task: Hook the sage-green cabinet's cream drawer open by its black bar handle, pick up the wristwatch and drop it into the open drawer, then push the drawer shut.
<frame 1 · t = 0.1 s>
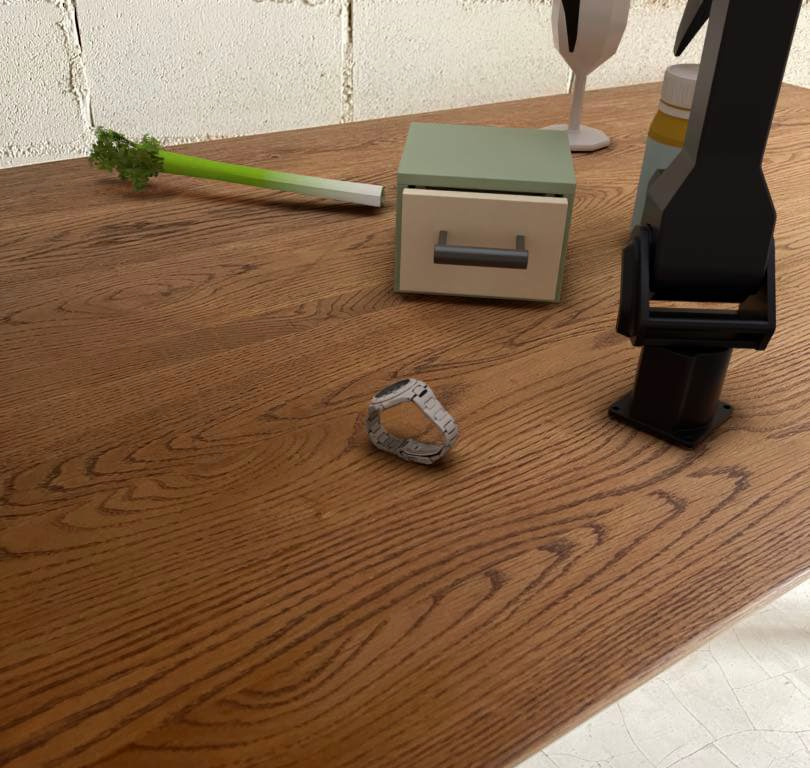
hand: (623, 52, 81), 15 cm above the table, tool pointing down, fingers open, 9 cm apart
wineglass: (571, 143, 112), on the table
cabinet: (478, 264, 83), on the table
leek: (237, 198, 94), on the table
wristwatch: (408, 456, 59), on the table
bottle: (664, 248, 87), on the table
drawer: (481, 229, 76), point 5 cm above the table, slide at 0.5 cm
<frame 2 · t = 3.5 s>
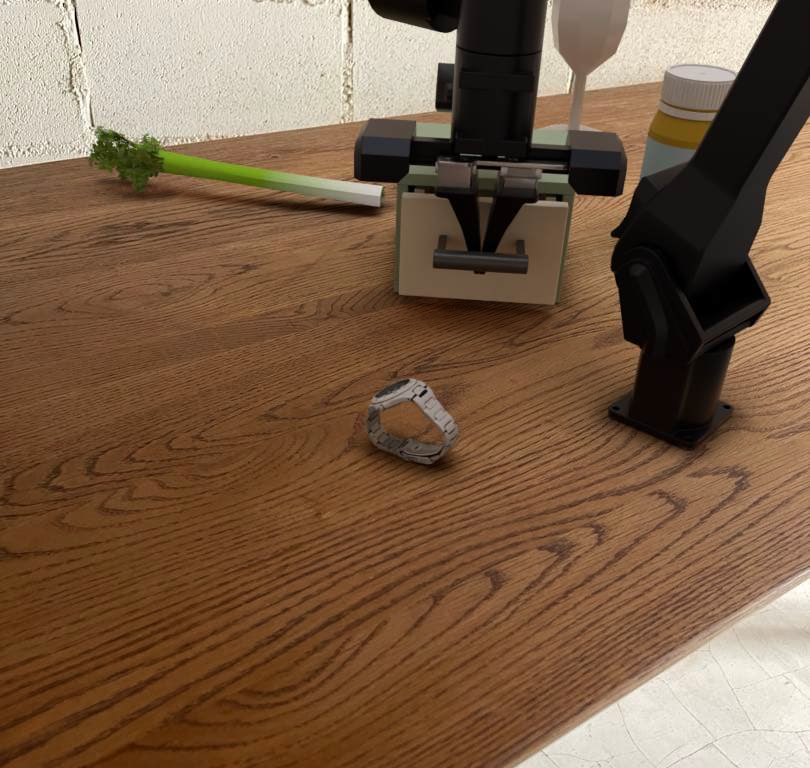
hand: (479, 272, 71), 4 cm above the table, tool pointing down, fingers closed, pressing on drawer
drawer: (481, 233, 75), point 5 cm above the table, slide at 1.4 cm, touching gripper
everything else where it was.
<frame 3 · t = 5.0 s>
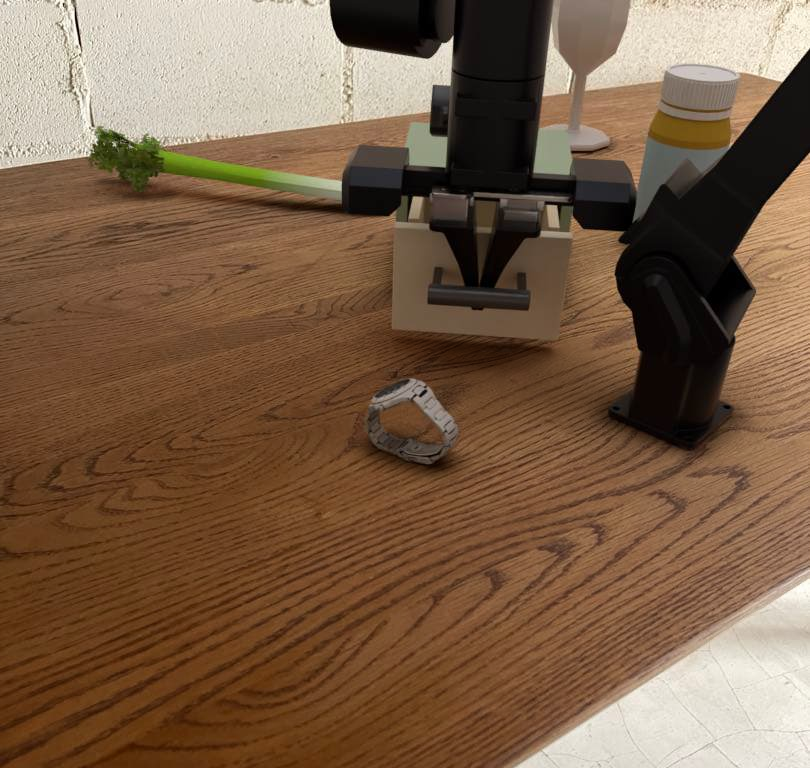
hand: (477, 307, 66), 4 cm above the table, tool pointing down, fingers closed, pressing on drawer
drawer: (479, 264, 71), point 5 cm above the table, slide at 7.5 cm, touching gripper
everything else where it was.
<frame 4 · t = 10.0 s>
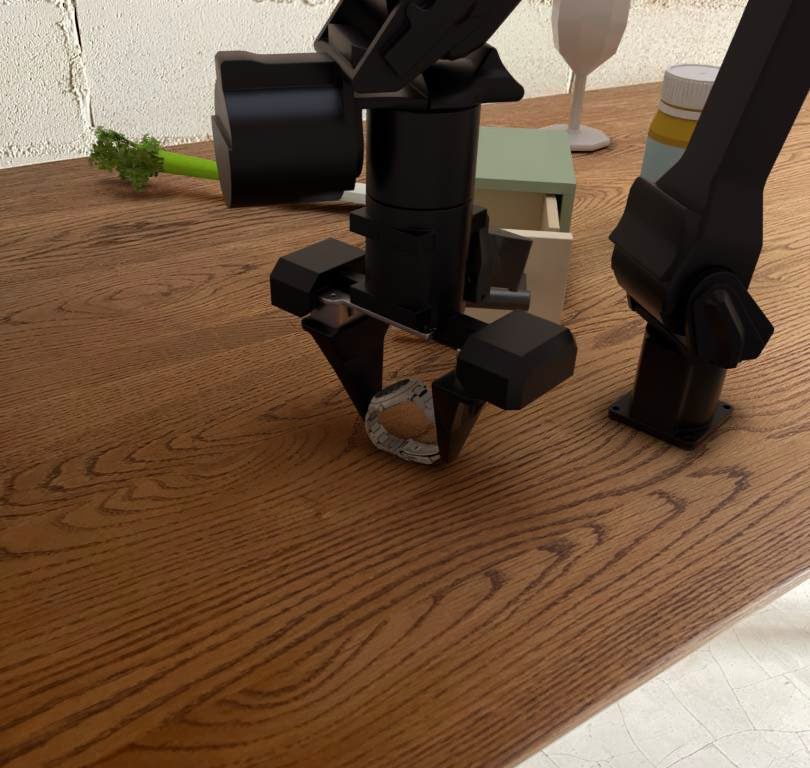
hand: (409, 440, 59), 1 cm above the table, tool pointing down, fingers closed on wristwatch, 6 cm apart
wristwatch: (408, 456, 59), on the table, touching gripper
drawer: (479, 264, 70), point 5 cm above the table, slide at 7.6 cm
everything else where it was.
when the fingers open (9 cm above the table, at t = 26.6 s): wristwatch drops 6 cm, resting on drawer.
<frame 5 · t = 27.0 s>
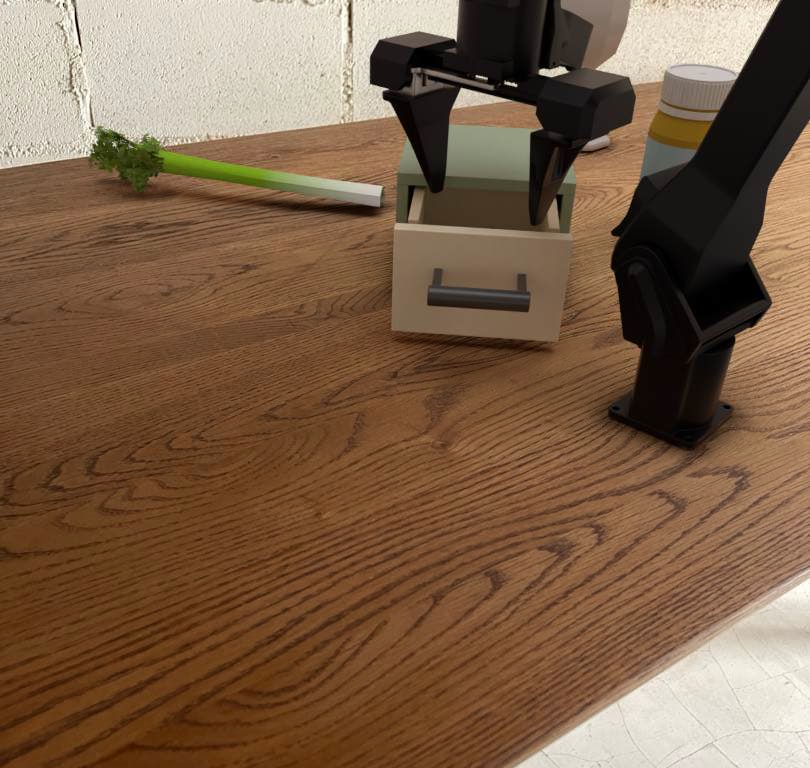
hand: (485, 207, 68), 9 cm above the table, tool pointing down, fingers open, 9 cm apart
wristwatch: (479, 298, 73), point 2 cm above the table, touching drawer
drawer: (479, 265, 70), point 5 cm above the table, slide at 7.7 cm, touching wristwatch
everything else where it was.
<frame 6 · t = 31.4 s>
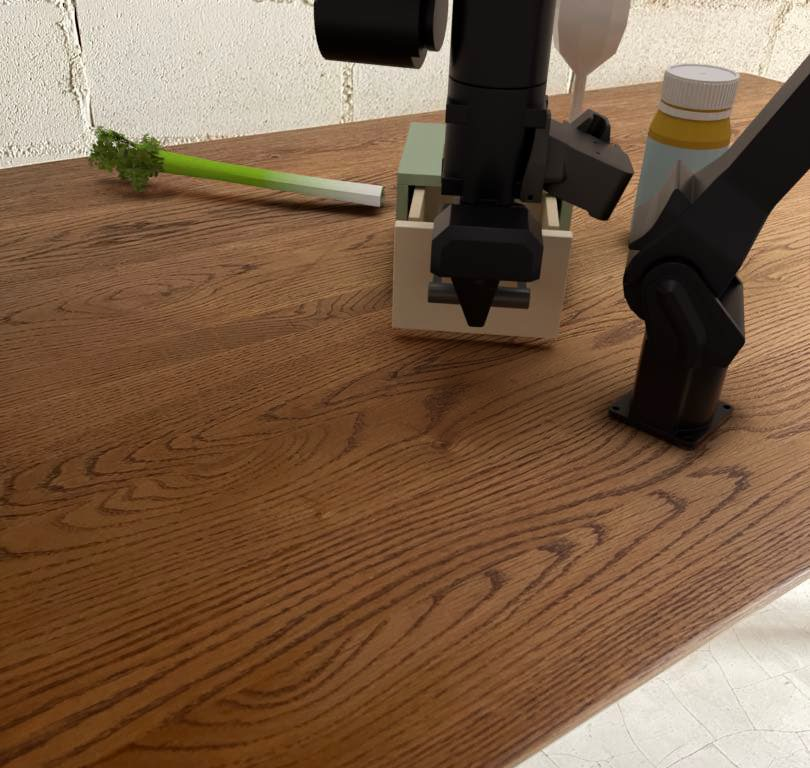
hand: (476, 324, 63), 5 cm above the table, tool pointing down, fingers closed
drawer: (479, 262, 71), point 5 cm above the table, slide at 7.2 cm, touching gripper, wristwatch
everything else where it was.
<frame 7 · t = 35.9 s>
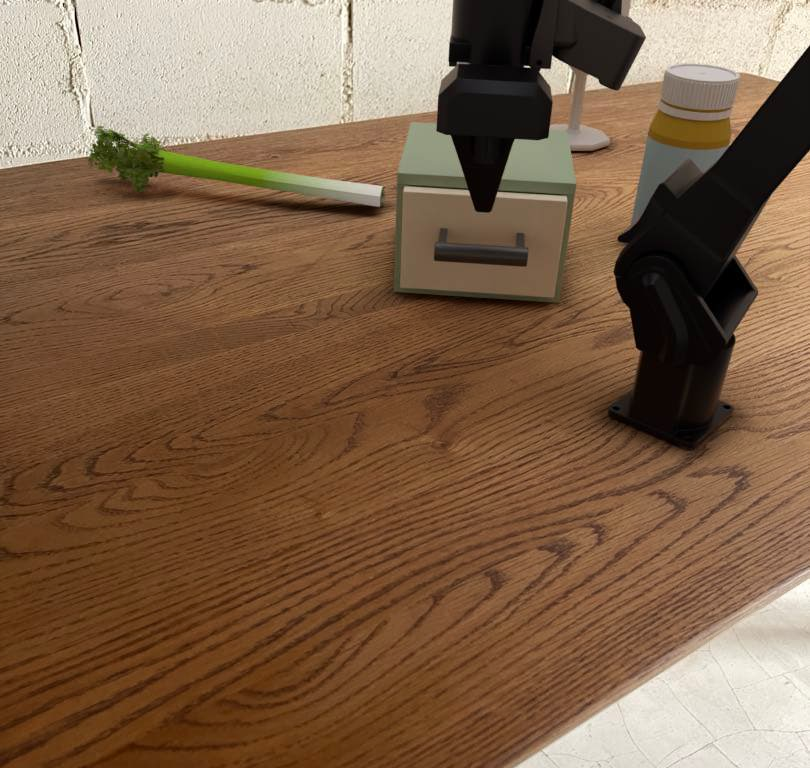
hand: (483, 210, 62), 11 cm above the table, tool pointing down, fingers closed
wristwatch: (481, 259, 79), point 2 cm above the table, touching drawer
drawer: (481, 227, 76), point 5 cm above the table, slide at 0.0 cm, touching cabinet, wristwatch
everything else where it was.
at the end: drawer pulled out 7.8 cm at the most during the clip, back to where it started at the end; wristwatch inside the target area in the cabinet (3.3 cm from its centre), point 1.9 cm above the cabinet's base; drawer slide at 0.0 cm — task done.
